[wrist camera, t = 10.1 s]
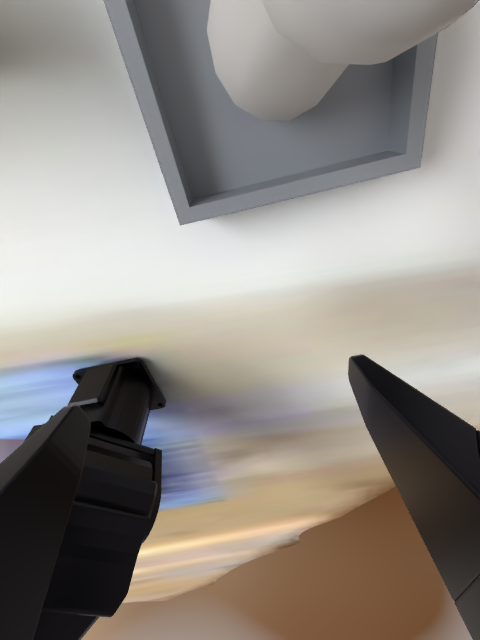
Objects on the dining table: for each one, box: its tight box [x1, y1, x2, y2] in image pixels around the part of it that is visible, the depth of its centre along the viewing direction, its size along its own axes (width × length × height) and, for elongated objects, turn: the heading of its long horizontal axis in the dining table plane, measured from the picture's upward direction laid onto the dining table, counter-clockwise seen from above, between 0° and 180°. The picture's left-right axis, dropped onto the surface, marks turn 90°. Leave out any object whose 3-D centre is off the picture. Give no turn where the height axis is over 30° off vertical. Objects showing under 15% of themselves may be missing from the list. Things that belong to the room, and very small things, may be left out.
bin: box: [104, 0, 438, 225], centre depth 13 cm, size 13×13×3 cm
